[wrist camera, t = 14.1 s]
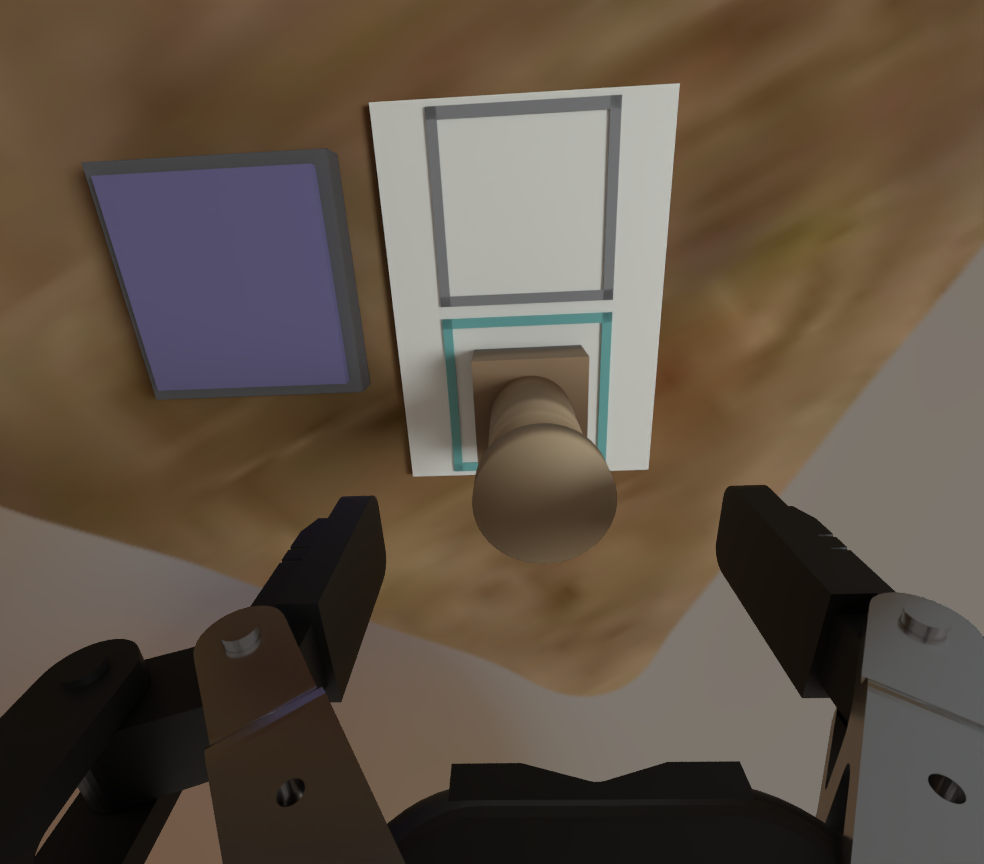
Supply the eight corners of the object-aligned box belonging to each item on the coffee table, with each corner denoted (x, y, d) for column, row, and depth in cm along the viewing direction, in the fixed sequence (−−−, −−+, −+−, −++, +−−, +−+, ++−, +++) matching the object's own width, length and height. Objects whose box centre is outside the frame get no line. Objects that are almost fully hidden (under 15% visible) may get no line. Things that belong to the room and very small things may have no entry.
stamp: (474, 349, 21) (452, 427, 12) (580, 344, 20) (635, 420, 12) (480, 446, 22) (465, 576, 14) (579, 442, 22) (625, 571, 13)
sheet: (371, 104, 18) (368, 101, 17) (677, 86, 17) (680, 82, 17) (414, 473, 23) (412, 477, 23) (646, 466, 23) (648, 470, 22)
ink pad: (106, 167, 19) (72, 160, 17) (337, 154, 18) (322, 146, 17) (174, 391, 22) (149, 402, 20) (370, 384, 22) (360, 394, 20)
